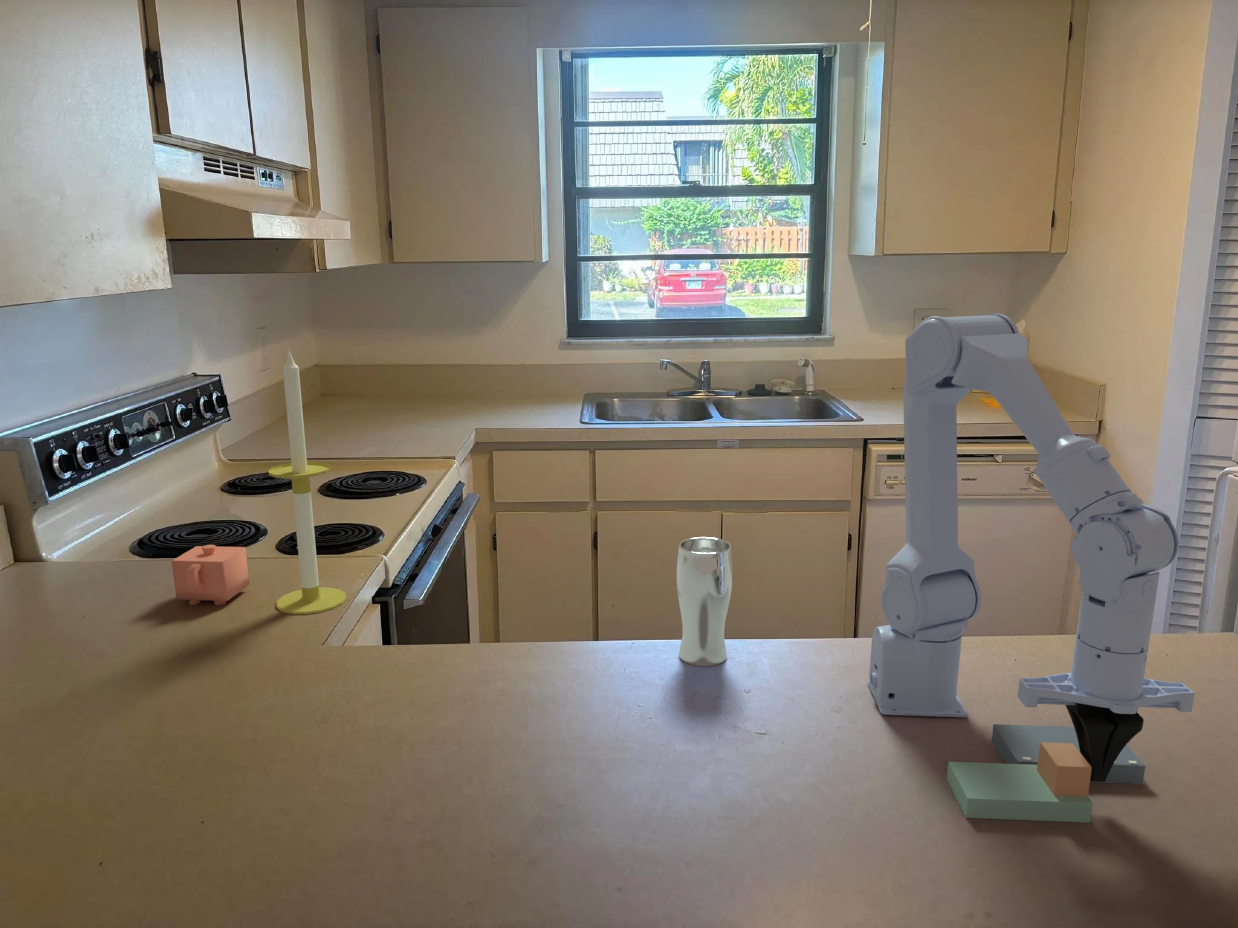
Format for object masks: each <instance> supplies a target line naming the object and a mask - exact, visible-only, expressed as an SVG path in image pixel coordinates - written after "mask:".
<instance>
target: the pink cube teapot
mask: <svg viewBox="0 0 1238 928" xmlns="http://www.w3.org/2000/svg"><path fill="white" fill-rule="evenodd" d="M171 567H172V568H171V569H172V575H173V583H174V591H175V598H176V600H181V601H182V600H187V601H188V605H190V606H191V605H192V606H193V605H198V604H201V602H202V601H213V602H214V603H213V604H214V606H223V605H226V604H227V602H228V601H229V600H231V599H232V598H233V597H235V596H236V595H239V594H240V592H241V591H243V590H245V588H246V587H248V586H249V585H250V578H249V567H248V559H247V548H246V546H217V545H215V544H207V545H202V546H201V545H200V546H199V545H196V546H194V547H193V548H191V549H190V550H188V551H186V552H184V553H182V554H180V555H179V556H177V557H176V558H174V559H173V560H171Z"/></svg>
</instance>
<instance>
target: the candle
mask: <svg viewBox="0 0 1238 928" xmlns="http://www.w3.org/2000/svg"><path fill="white" fill-rule="evenodd" d="M282 373H283V383H284V385H283V386H284V396H285V397H284V398H285V405H286V406H285V407H286V417H287V428H288V429H287V430H288V439H289V441H288V442H289V451H290V463H285V464H284V463H283V464H279V465H276V466H273V467H271V468H269V469H268V475H269V476H270V477H273V478H277V479H291V486H292V499H293V509H294V519H295V520H294V521H295V522H294V523H295V530H296V541H297V551H298V555H297V556H298V563H299V574H300V575H299V576H300V585H301V589H298V590H294V591H291V592H289V593H287V594H283V595H282V596H281V597H279V598H278V599H277V601H276V603H275V604H276V605H275V607H276V609H277V610H278V611H280V612H281V613H284V614H287V615H305V616H306V615H313V614H321V613H324V612H327V611H330V610H333V609H336V608H337V607H340V606H341V605H343V604H344V602H345V601H346V600H347V596H346V595H347V594H346V592H345V591H343V590H341V589H339V588H335V587H326V586H325V587H324V586H321V587H320V582H319V571H318V570H319V569H318V559H317V558H318V557H317V548H316V547H317V546H316V535H315V524H314V514H313V513H314V512H313V501H312V491H311V490H312V489H311V479H310V477H318V476H321V475H323V474H327V473H328V472H329V471H331V464H330V463H329V464H328V463H326V462H319V461H308V459H307V458H308V457H307V449H306V448H307V447H306V438H305V425H304V415H303V414H304V413H303V401H302V400H303V399H302V391H301V390H302V389H301V379H300V377H301V376H300V367H299V366H298V365H297V364H296V363H295V360H294V358H293V355H292V353H291V350H290V349H289V348H288V352H287V358H286V362H285V364H284V366H283V367H282Z"/></svg>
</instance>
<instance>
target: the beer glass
mask: <svg viewBox="0 0 1238 928" xmlns="http://www.w3.org/2000/svg"><path fill="white" fill-rule="evenodd" d="M677 551H678V554H677V564H676V591H677V599H678V604H679V605H678V606H679V611H680V616H681V622H682V632H681V633H682V637H681V642H680V645H679V652H678V656H679V658H680V659H681V660H682V662H684V663H686V664H689V665H692V666H694V667H695V666H696V667H705V668H706V667H707V668H708V667H714V666H718V665H720V664H722V663H724V662H725V661H726V659H727V656H728V655H727V647H726V640H725V627H726V626H725V625H726V620H727V615H728V610H729V605H730V601H731V593H732V589H733V556H732V555H733V553H732V544H731V543H730V542H729V541H726V540H724V539H722V538H719V537H718V538H717V537H711V536H710V537H709V536H699V537H696V536H695V537H690V538H686V539H683V540H681V541H680V542H679V543H678V550H677Z"/></svg>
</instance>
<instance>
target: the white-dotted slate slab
mask: <svg viewBox="0 0 1238 928" xmlns="http://www.w3.org/2000/svg"><path fill="white" fill-rule="evenodd" d="M1040 742H1046V743H1073V744H1074V745H1075V747H1076V748H1077V749H1078V751H1079V752H1080V749H1079V743H1078V739H1077V735H1076V731H1075V728H1074V726H1059V725H1057V726H1056V725H1033V724H1032V725H1028V724H999V723H998V724H995V723H994V724H993V725H992V733H991V743H992V744H993V746H994V748H995V749H996V750H997V752H998V754H999V756H1000V757H1001V758H1002V760H1003V763H1004V764H1029V765H1038V757H1039V749H1040ZM1140 759H1141V758H1139V757H1138V756H1137V755H1136V753H1135V752H1134V751H1133V750H1132V749H1131V748H1130V747H1129V746H1128V744H1126V746H1125V747H1124V748H1123V749H1122V751H1121V752H1120V754H1119V755H1118V757H1117V759H1116V760H1115V762H1114V764H1113V766H1112V768H1111V770H1110V772H1109V774H1108V776H1107V778H1106V781H1105V782H1097V783H1101V784H1103V783H1104V784H1128V783H1129V785H1130V784H1131V785H1143V784H1144V778H1145V771H1146V765H1145V764H1144V762H1143V761H1142V760H1140ZM1090 783H1093V782H1092V781H1090Z"/></svg>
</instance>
